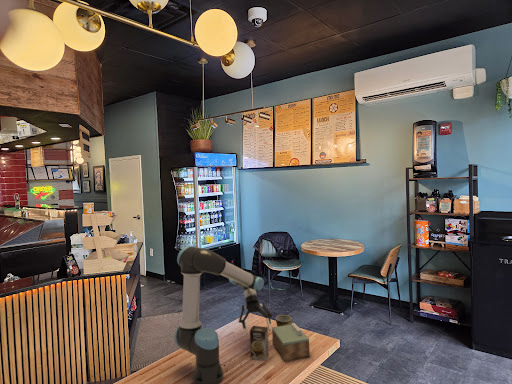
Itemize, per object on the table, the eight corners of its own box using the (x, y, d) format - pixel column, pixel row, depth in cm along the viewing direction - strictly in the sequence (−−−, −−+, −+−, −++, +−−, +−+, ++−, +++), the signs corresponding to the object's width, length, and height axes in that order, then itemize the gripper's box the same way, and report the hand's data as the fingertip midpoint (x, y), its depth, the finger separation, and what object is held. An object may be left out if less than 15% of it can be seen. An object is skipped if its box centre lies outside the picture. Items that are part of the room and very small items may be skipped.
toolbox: (284, 362, 178) (283, 345, 177) (272, 344, 197) (272, 329, 197) (309, 357, 182) (309, 341, 181) (296, 340, 201) (295, 326, 201)
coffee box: (250, 358, 182) (249, 330, 182) (253, 352, 189) (252, 325, 188) (266, 360, 180) (265, 331, 179) (269, 354, 186) (268, 326, 185)
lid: (283, 345, 177) (283, 337, 177) (272, 329, 197) (271, 322, 197) (309, 340, 181) (308, 333, 181) (295, 325, 201) (295, 318, 200)
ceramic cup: (294, 335, 208) (294, 319, 207) (280, 338, 204) (279, 322, 204) (285, 326, 220) (284, 312, 219) (271, 329, 216) (271, 314, 216)
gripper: (269, 297, 208) (277, 330, 194) (230, 302, 202) (236, 337, 188) (271, 291, 203) (280, 326, 189) (231, 297, 196) (238, 333, 183)
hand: (258, 332), depth 188 cm, fingers open, 13 cm apart
